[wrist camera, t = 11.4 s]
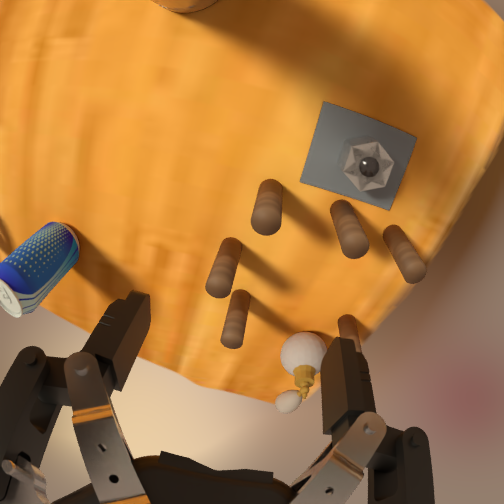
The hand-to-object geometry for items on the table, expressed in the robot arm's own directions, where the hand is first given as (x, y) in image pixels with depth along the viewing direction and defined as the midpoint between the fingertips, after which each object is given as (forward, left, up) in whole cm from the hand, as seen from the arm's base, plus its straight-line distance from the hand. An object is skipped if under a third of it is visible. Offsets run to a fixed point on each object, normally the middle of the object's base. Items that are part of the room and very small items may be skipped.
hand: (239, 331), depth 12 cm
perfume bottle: (+27, +13, -26) cm, 39 cm away
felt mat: (-4, +10, -25) cm, 27 cm away
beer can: (+19, -30, -26) cm, 44 cm away
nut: (-4, +10, -25) cm, 27 cm away
